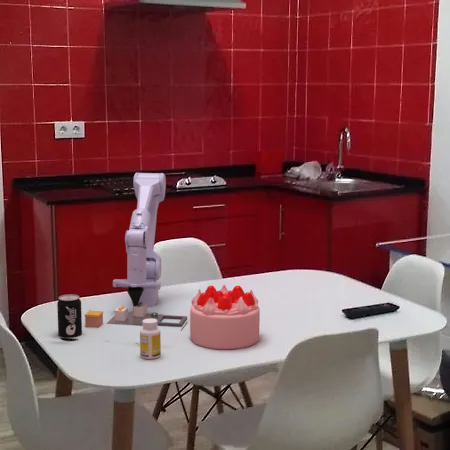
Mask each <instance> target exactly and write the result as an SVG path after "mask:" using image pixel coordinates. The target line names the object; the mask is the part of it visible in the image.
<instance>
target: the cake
mask: <svg viewBox="0 0 450 450" xmlns="http://www.w3.org/2000/svg"><path fill="white" fill-rule="evenodd" d="M243 289H244V288H243V287H241V286H240V285H235V286H234V287H233V289H232V290H228V288H227V286H226V285H225V284H223V285H222V286H221V288H220V290H217V289H216V287H215V286H214V285H209V286H207V287H206V289H205V290H204V292H201V289H198V292H197V294H196V295H195V296H194V297H193V298H192V299H191V306H190V309H189V310H190V311H189V313H190V314H189V317H190V318H189V322H190V323H189V325H190V326H189V333H190V334H189V337H190V340H191V341H192V343H194V344H196V345H197V346H199V347H202V348H203V347H204V348H206V349H214V350H237V349H238V348H239V349H243V348H244V347H245V348H248V347H250V345H251V346H253V345H255V344H256V343H257V342H258V341H259V339H260V325H261V324H260V322H261V320H260V316H261V315H260V314H261V313H260V310H261V309H260V306H259V300H258V298H257V297H256V296H255V295H254V293H253V290H252V289H251V290H250V291H248V292H245V291H244V290H243ZM247 346H248V347H247ZM245 348H244V349H245Z"/></svg>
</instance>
